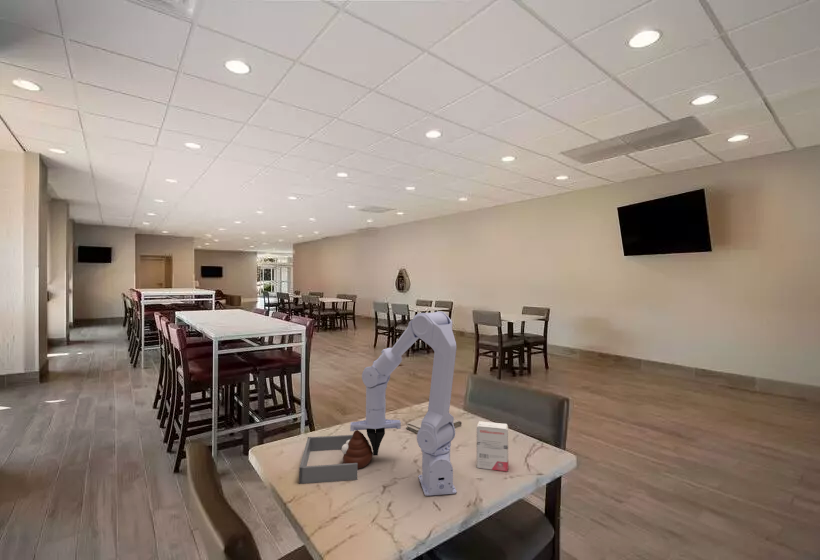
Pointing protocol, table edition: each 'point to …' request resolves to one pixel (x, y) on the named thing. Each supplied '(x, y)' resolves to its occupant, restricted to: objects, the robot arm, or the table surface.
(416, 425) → the washcloth
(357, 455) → the poop emoji
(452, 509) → the table surface
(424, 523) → the table surface
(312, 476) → the bin
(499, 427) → the ink box
